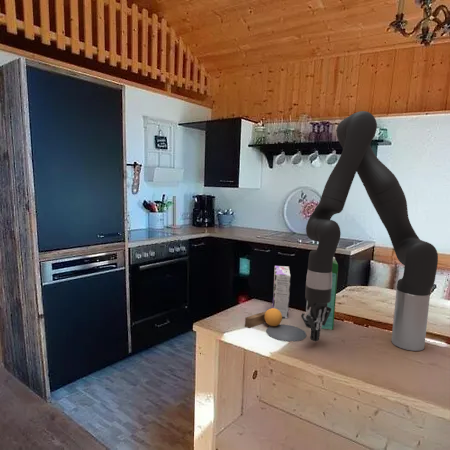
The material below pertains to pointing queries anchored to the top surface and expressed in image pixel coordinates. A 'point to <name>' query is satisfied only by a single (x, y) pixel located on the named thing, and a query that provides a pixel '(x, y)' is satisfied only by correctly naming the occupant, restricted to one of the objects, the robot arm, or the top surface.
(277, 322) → the ball
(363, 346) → the top surface
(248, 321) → the bar
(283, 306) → the candy box
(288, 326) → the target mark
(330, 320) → the milk carton
